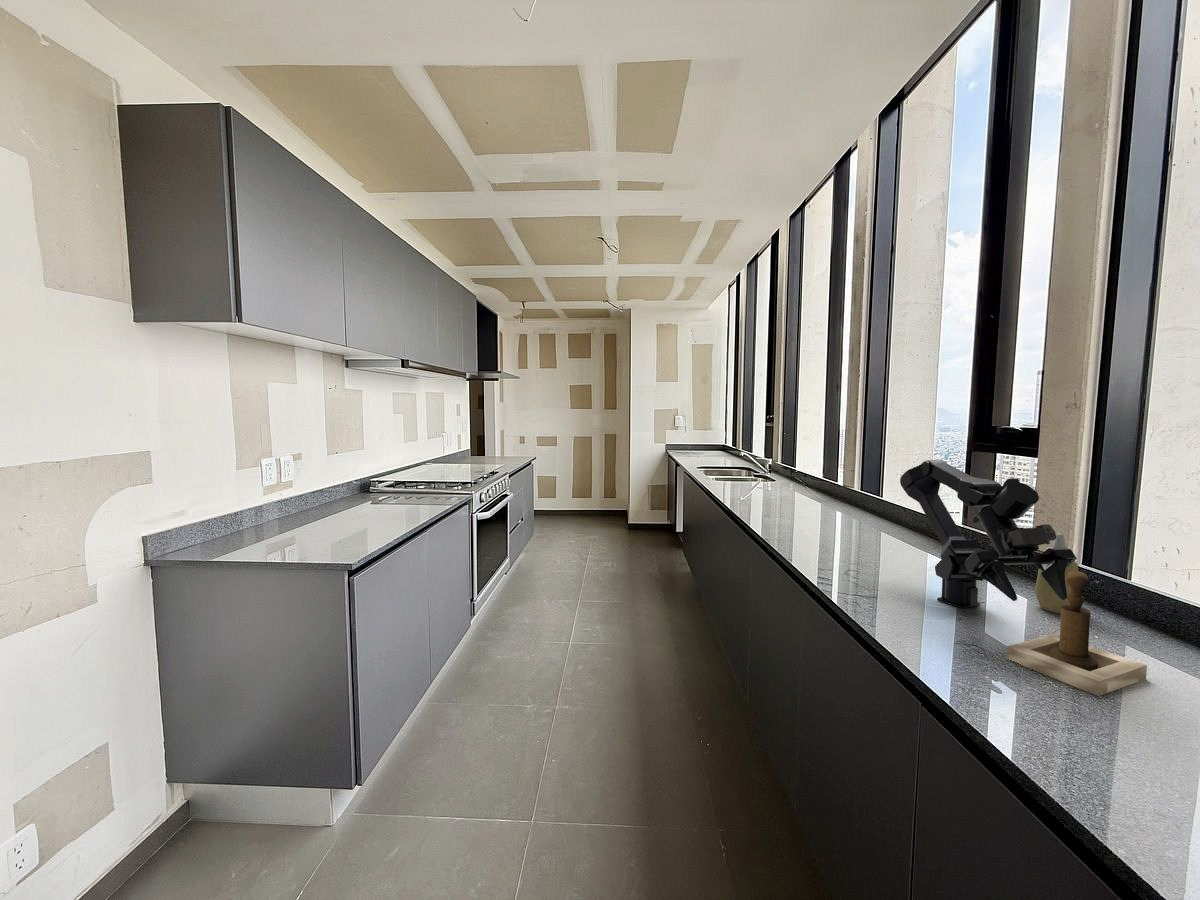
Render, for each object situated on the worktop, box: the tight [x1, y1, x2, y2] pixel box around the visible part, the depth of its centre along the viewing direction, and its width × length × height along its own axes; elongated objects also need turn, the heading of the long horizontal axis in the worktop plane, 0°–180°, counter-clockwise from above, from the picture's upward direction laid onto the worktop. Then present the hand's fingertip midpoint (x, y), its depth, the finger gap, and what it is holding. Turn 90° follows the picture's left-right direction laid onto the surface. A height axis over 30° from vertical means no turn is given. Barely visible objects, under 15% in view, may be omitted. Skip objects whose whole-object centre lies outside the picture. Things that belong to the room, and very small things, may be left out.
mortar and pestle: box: [1049, 570, 1099, 671], centre depth 94 cm, size 7×6×18 cm
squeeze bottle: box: [1034, 533, 1079, 614], centre depth 121 cm, size 8×8×18 cm
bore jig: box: [1005, 633, 1148, 697], centre depth 95 cm, size 14×14×2 cm
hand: (1040, 599), depth 102 cm, fingers open, 9 cm apart
